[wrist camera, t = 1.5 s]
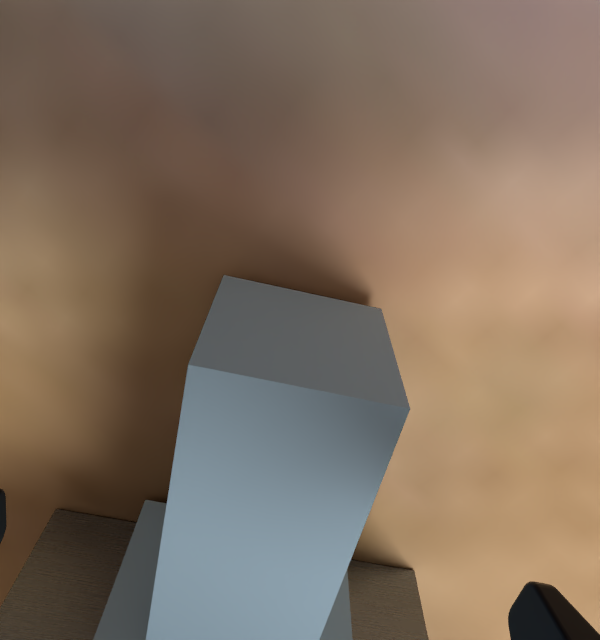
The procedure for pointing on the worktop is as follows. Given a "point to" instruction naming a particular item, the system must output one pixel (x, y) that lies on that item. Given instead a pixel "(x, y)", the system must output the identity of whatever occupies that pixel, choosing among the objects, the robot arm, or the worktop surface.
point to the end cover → (265, 474)
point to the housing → (103, 566)
